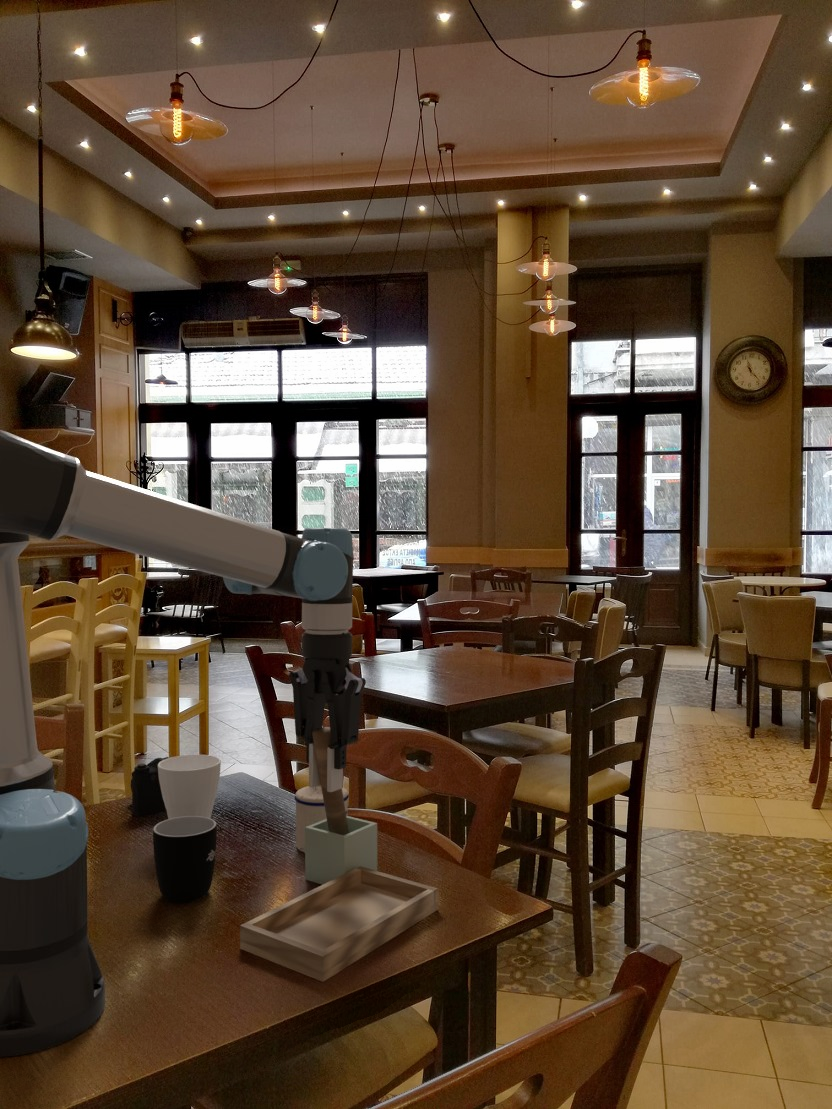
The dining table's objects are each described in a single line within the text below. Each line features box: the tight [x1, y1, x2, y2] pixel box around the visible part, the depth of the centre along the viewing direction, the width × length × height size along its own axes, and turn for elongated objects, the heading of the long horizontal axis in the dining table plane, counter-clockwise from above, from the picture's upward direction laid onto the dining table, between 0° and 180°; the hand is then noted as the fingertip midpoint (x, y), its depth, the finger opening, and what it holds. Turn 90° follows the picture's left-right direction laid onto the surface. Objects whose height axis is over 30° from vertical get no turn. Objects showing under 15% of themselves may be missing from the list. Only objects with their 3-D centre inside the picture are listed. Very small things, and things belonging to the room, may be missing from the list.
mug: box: [152, 816, 218, 904], centre depth 129 cm, size 12×9×10 cm
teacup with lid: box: [294, 785, 350, 854], centre depth 148 cm, size 12×9×12 cm
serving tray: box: [239, 866, 439, 983], centre depth 116 cm, size 24×14×3 cm, turn 144°
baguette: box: [312, 726, 349, 835], centre depth 131 cm, size 6×3×17 cm, turn 144°
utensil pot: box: [304, 815, 378, 885], centre depth 134 cm, size 8×8×8 cm
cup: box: [158, 754, 222, 820], centre depth 149 cm, size 10×10×14 cm
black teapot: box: [130, 756, 170, 818], centre depth 169 cm, size 14×11×10 cm
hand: (325, 787), depth 131 cm, fingers closed on baguette, 3 cm apart
